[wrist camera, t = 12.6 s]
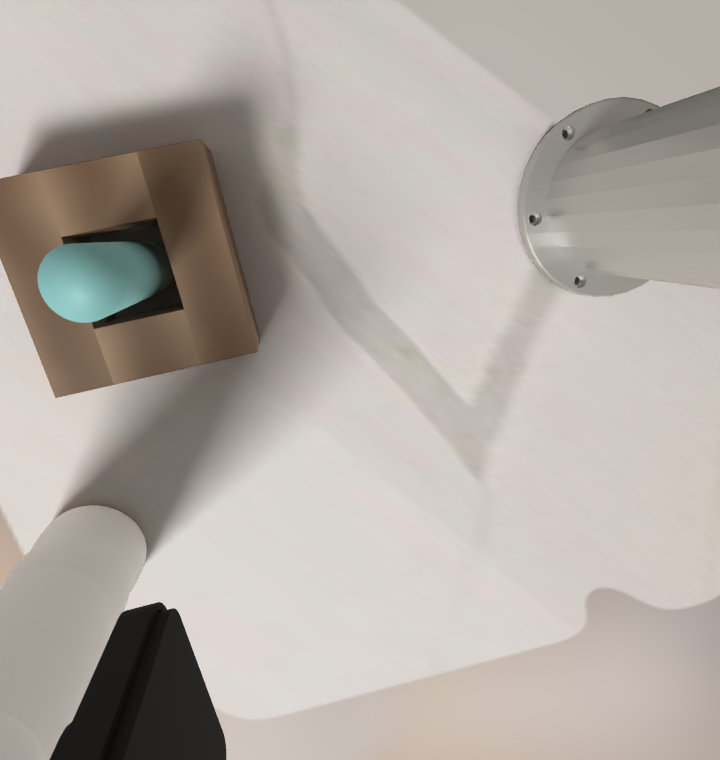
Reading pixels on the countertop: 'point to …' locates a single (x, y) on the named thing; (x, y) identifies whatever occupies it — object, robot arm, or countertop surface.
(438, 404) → the countertop surface
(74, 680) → the water bottle
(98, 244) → the dowel
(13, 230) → the socket block
